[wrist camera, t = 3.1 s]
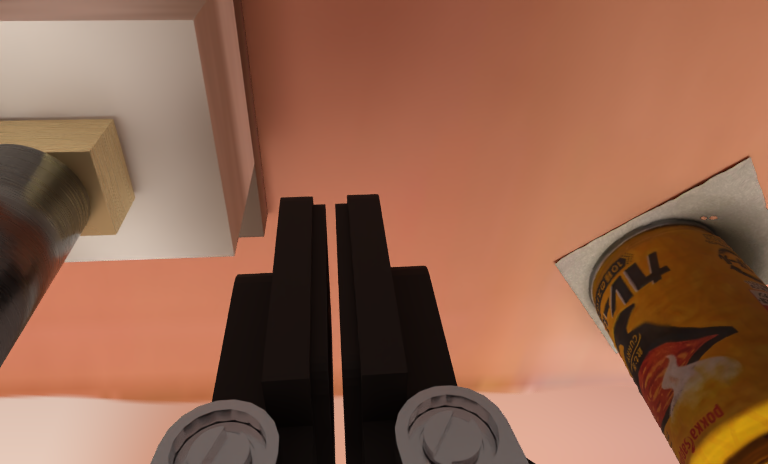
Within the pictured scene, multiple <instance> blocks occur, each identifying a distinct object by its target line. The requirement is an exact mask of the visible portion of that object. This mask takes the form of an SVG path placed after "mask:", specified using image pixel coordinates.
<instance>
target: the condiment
mask: <svg viewBox="0 0 768 464" xmlns="http://www.w3.org/2000/svg"><path fill="white" fill-rule="evenodd" d="M703 216H705V217H707V219H706V220H701V217H703ZM711 216H717V218H718V219H715V220H711V219H709V218H710V217H711ZM555 265H556V266H557V268H558V269H559V271H560V272H561V274H562V275H563V277H564V278H565V280H566V281H567V282H568V284H569V285H570V287H571V288H572V290H573V291H574V293H575V294H576V295H577V297H578V298H579V300H580V301H581V303H582V304H583V306H584V307H585V309H586V310H587V312H588V313H589V315H590V316H591V317H592V319H593V320H594V322H595V323H596V325H597V326H598V328H599V329H600V331H601V332H602V334H603V335H604V337H605V338H606V340H607V341H608V343H609V344H610V346H611V347H612V349H613V350H614V351H615V353H616V354H617V353H619V354H620V356H621V358H622V359H623V361H624V363H625V366H626V367H627V369H628V371H629V374H630V376H631V377H632V378H633V380H634V382H635V384H636V385H637V386H638V389H639V392H640V393H641V395H642V396H643V398H644V400H645V402H646V403H647V405H648V407H649V409H650V410H651V412H652V415H653V416H654V418H655V420H656V422H657V423H658V425H659V427H660V428H661V430H662V432H663V434H664V435H665V438H666V439H667V441H668V442H669V445H670V447H671V448H672V450H673V452H674V453H675V455H676V457H677V459H678V461H679V463H680V464H768V287H767V286H766V285H767V284H768V210H767V208H766V203H765V199H764V196H763V193H762V190H761V187H760V185H759V182H758V180H757V175H756V172H755V168H754V166H753V163H752V160H751V157H750V158H748V159H746V160H744V161H742V162H740V163H739V164H737V165H736V166H734V167H733V168H731V169H729V170H727V171H725V172H723V173H721V174H718V175H716V176H714V177H713V178H711V179H709V180H708V181H707V182H705V183H704V184H702V185H700V186H698V187H695V188H693V189H691V190H689V191H688V192H686V193H683V194H682V195H680V196H679V197H677V198H676V199H674V200H671V201H668V202H666V203H665V204H663V205H661V206H659V207H657V208H655V209H653V210H651V211H648V212H646V213H644V214H642V215H640V216H638V217H636V218H634V219H633V220H630V221H629V222H627V223H626V224H624V225H622V226H620V227H619V228H617V229H615V230H612V231H610V232H609V233H607V234H605V235H603V236H601V237H599V238H597V239H595V240H593V241H592V242H590V243H589V244H587V245H586V246H584V247H582V248H579V249H577V250H575V251H574V252H572V253H570V254H569V255H567V256H565V257H564V258H562V259H561V260H559V261H558V262H557V263H556V264H555Z"/></svg>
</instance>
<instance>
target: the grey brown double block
mask: <svg viewBox="0 0 768 464" xmlns="http://www.w3.org/2000/svg"><path fill="white" fill-rule="evenodd" d="M78 119H113V120H114V123H115V127H116V130H117V134H118V137H119V141H120V145H121V148H122V152H123V155H124V159H125V162H126V166H127V169H128V173H129V176H130V180H131V184H132V187H133V191H134V194H135V200H134V201H133V203H132V205H131V207H130V209H129V211H128V213H127V215H126V217H125V219H124V221H123V223H122V225H121V227H120V229H119V230H118V232H117V234H116V235H98V236H79V238H78V240H77V241H76V243H75V245H74V246H73V248H72V250H71V251H70V253H69V255H68V256H67V258H66V260H65V261H64V262H85V261H113V260H141V259H169V258H197V257H225V256H235V251H236V246H237V242H238V237H264V234H265V227H266V221H267V214H268V213H267V205H266V196H265V188H264V180H263V172H262V164H261V156H260V148H259V140H258V132H257V124H256V116H255V108H254V100H253V91H252V83H251V75H250V67H249V59H248V51H247V43H246V35H245V27H244V19H243V11H242V3H241V0H0V121H22V120H78Z"/></svg>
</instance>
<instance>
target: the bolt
mask: <svg viewBox="0 0 768 464" xmlns="http://www.w3.org/2000/svg"><path fill="white" fill-rule="evenodd" d="M134 200H135V194H134V191H133V187H132V184H131V180H130V176H129V173H128V169H127V166H126V162H125V159H124V155H123V152H122V148H121V145H120V141H119V137H118V134H117V130H116V127H115V123H114V120H113V119H78V120H22V121H0V367H1V365H2V364H3V362H4V360H5V359H6V357H7V355H8V354H9V352H10V350H11V349H12V347H13V346H14V344H15V342H16V341H17V339H18V337H19V336H20V334H21V332H22V331H23V329H24V327H25V326H26V324H27V322H28V321H29V319H30V317H31V316H32V314H33V312H34V311H35V309H36V307H37V306H38V304H39V303H40V301H41V299H42V298H43V296H44V294H45V293H46V291H47V289H48V288H49V286H50V284H51V283H52V281H53V279H54V278H55V276H56V274H57V273H58V271H59V269H60V268H61V266H62V264H63V263H64V261H65V260H66V258H67V256H68V255H69V253H70V251H71V250H72V248H73V246H74V245H75V243H76V241H77V240H78V238H79V236H98V235H116V234H117V232H118V230H119V229H120V227H121V225H122V223H123V221H124V219H125V217H126V215H127V213H128V211H129V209H130V207H131V205H132V203H133V201H134Z"/></svg>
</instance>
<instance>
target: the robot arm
mask: <svg viewBox="0 0 768 464" xmlns="http://www.w3.org/2000/svg"><path fill="white" fill-rule="evenodd" d="M335 209H336V234H337V259H338V285H339V310H340V334H341V357H342V380H343V403H344V426H345V446H346V447H345V449H346V464H535V463H533V462H532V461H530V460H529V459H527V458H526V457H525V455H524V453H523V451H522V449H521V447H520V445H519V443H518V441H517V439H516V437H515V435H514V433H513V431H512V429H511V427H510V425H509V423H508V421H507V419H506V418H505V417H504V415H503V414H502V412H501V411H500V409H499V408H498V407H497V406H496V405H495V404H494V403H492V402H491V401H490V400H489V399H488V398H486V397H485V396H484V395H481V394H479V393H477V392H475V391H473V390H470V389H468V388H463V387H458V386H457V383H456V379H455V375H454V371H453V367H452V363H451V359H450V355H449V351H448V347H447V343H446V339H445V335H444V331H443V327H442V323H441V319H440V315H439V311H438V307H437V303H436V299H435V295H434V291H433V287H432V283H431V279H430V275H429V272H428V269H427V267H426V266H410V267H390V261H389V255H388V249H387V243H386V237H385V230H384V224H383V218H382V212H381V206H380V200H379V195H378V194H370V195H347V204H335ZM334 436H335V435H334V396H333V358H332V325H331V304H330V285H329V266H328V246H327V227H326V208H325V204H321V205H313V197H285V198H281V199H280V207H279V217H278V227H277V236H276V246H275V255H274V265H273V273H260V274H239V275H237V276H236V278H235V282H234V287H233V292H232V297H231V303H230V308H229V313H228V319H227V324H226V329H225V335H224V340H223V345H222V351H221V356H220V361H219V367H218V372H217V377H216V383H215V388H214V393H213V399H212V402H211V403H208V404H205V405H202V406H199V407H197V408H195V409H194V410H192V411H190V412H189V413H187V414H185V415H183V416H182V417H181V418H180V419H179V420H178V421H177V422H175V423H174V424H173V425H172V426H171V427H170V428H169V429H168V431H167V432H166V434H165V436H164V437H163V439H162V441H161V442H160V444H159V445H158V448H157V450H156V452H155V455H154V457H153V459H152V462H151V464H335V437H334Z"/></svg>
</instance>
